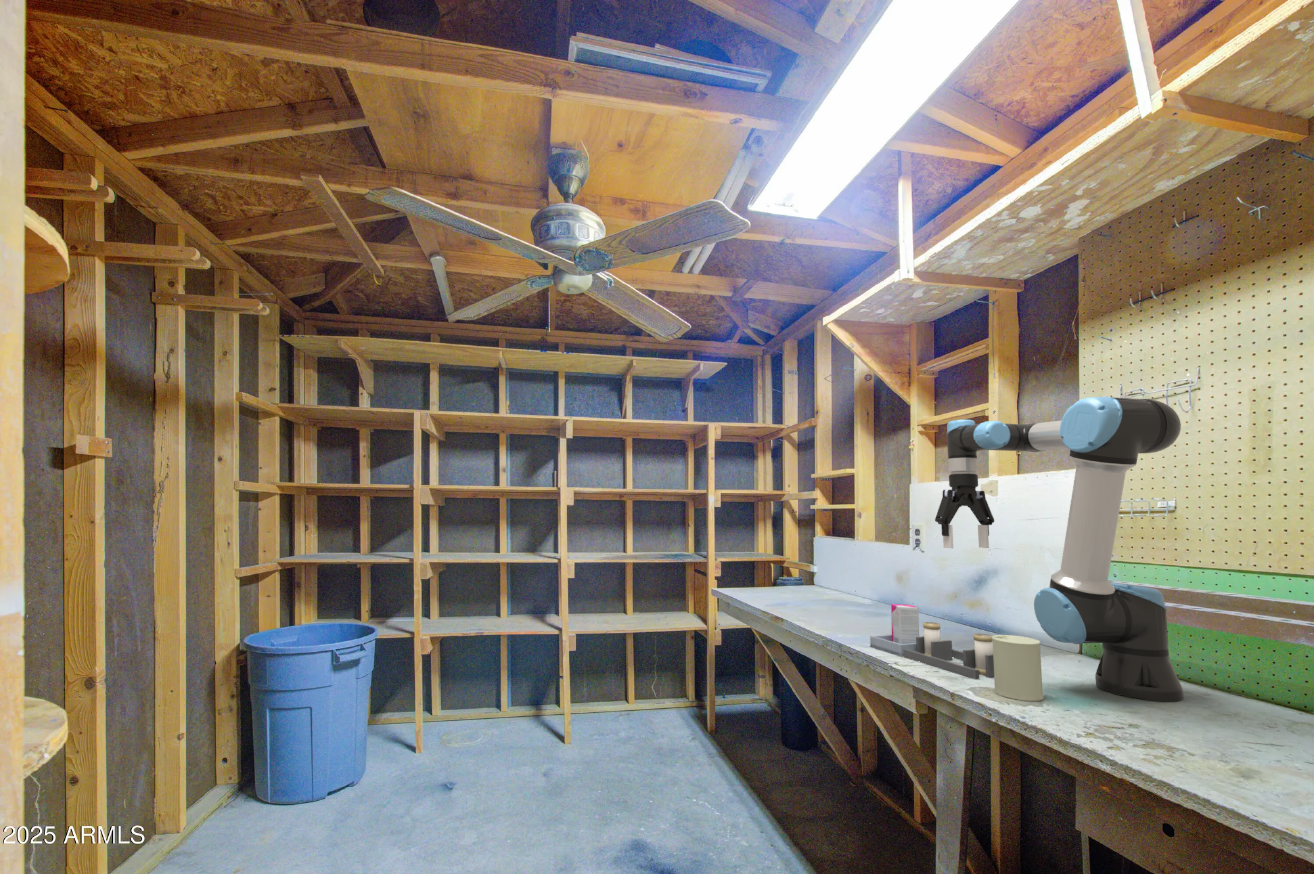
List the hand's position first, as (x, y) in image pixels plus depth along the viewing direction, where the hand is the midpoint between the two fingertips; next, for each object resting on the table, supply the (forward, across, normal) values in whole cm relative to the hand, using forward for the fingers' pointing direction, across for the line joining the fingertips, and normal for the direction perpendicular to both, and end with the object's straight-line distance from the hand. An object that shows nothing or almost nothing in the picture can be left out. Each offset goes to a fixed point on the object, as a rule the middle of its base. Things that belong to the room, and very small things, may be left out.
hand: (966, 548), depth 172 cm
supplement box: (+28, +16, -8) cm, 33 cm away
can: (+29, +24, +33) cm, 50 cm away
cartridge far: (+29, +16, +2) cm, 33 cm away
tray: (+29, +16, -8) cm, 34 cm away
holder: (+29, +16, +10) cm, 34 cm away
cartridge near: (+29, +16, +18) cm, 37 cm away
